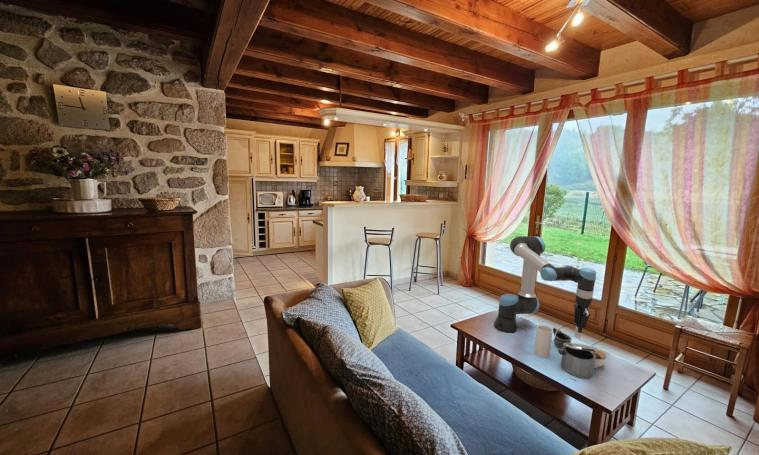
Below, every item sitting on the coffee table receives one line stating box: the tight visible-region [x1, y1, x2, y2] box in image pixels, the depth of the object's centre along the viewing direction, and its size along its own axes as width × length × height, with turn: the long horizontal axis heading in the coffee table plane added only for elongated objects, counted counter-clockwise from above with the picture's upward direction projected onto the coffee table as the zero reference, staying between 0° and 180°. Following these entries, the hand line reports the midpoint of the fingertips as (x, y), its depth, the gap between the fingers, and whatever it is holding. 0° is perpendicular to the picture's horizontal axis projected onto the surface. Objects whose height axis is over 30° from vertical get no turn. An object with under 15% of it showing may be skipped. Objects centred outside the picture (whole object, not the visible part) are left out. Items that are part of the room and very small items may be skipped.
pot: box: [557, 346, 601, 379], centre depth 177 cm, size 16×21×10 cm
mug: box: [552, 326, 573, 349], centre depth 202 cm, size 10×12×10 cm
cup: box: [533, 324, 554, 358], centre depth 191 cm, size 8×8×16 cm
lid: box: [563, 342, 597, 351], centre depth 174 cm, size 17×15×2 cm
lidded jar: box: [591, 349, 607, 369], centre depth 182 cm, size 11×11×9 cm
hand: (577, 336), depth 178 cm, fingers closed
